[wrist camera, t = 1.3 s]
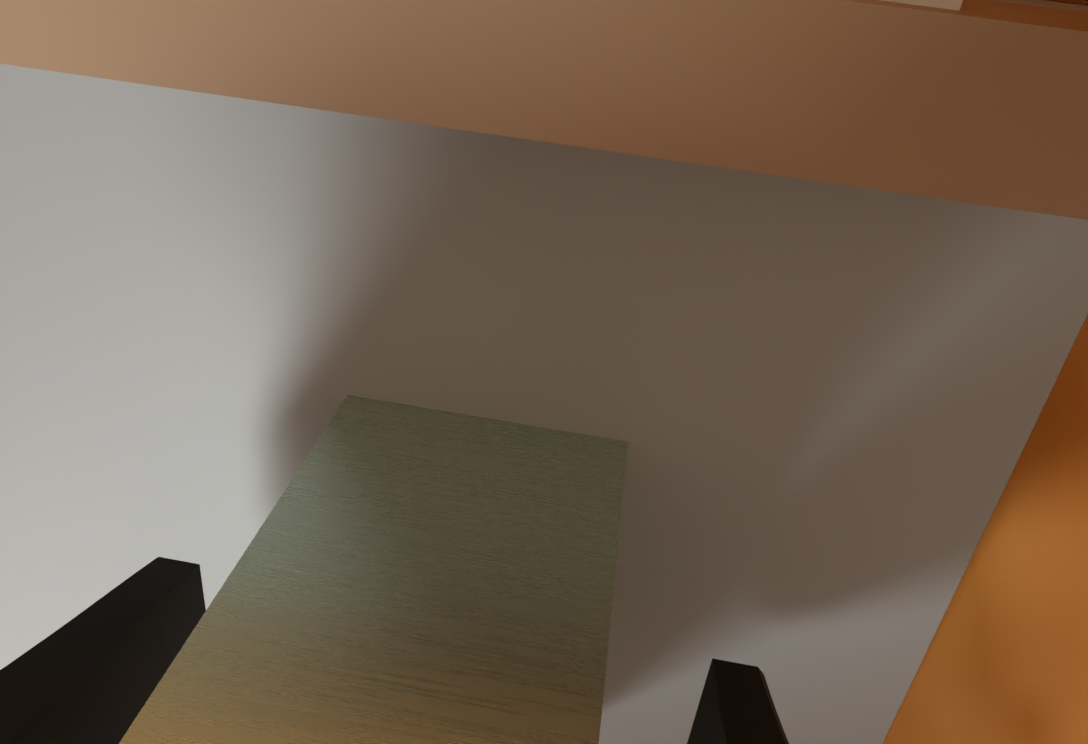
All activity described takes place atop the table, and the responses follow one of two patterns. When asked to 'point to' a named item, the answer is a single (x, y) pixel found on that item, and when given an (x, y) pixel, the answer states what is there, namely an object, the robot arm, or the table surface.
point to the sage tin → (412, 593)
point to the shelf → (551, 294)
